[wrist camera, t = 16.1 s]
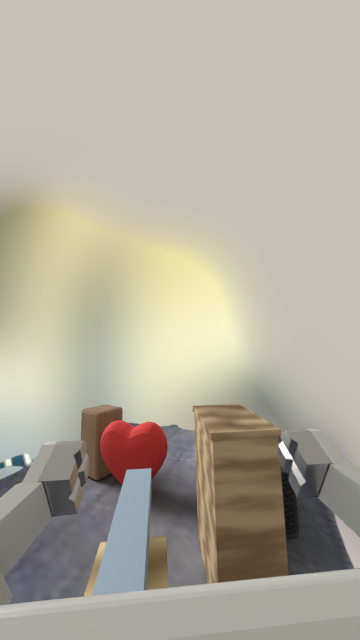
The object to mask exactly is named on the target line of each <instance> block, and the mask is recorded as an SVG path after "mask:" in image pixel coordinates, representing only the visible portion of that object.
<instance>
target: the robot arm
mask: <svg viewBox="0 0 360 640" xmlns="http://www.w3.org/2000/svg"><path fill="white" fill-rule="evenodd" d="M280 438H281V439H282V442H281V443H280V444H279V445H278V451H277V452H278V459H279V462H280V465H281V467H282V469H283V470H284V471H285V472H286V473H288V474H289V480H288V481H289V483H290V485H291V487H292V488H293V490H294V492H295V494H296V496H297V498H302V497H318V498H319V499H320V500H321V501H322V502H323V503H324V504H325V505H326V506H327V507H328V508H329V509H330V510H332V511H333V512H334V513H335V514H336V515H337V516H338V517H339V518H340V519H341V520H342V521H343V522H344V523H345V524H346V525H348V526H349V527H350V528H351V529H352V530H353V531H354V532H355V533H356V534H357V535H358V536H359V537H360V469H359V468H358V467H356V466H354V465H353V464H351V463H346V461H345V460H344V459H343V458H342V456H341V455H340V454H339V453H338V451H337V450H336V449H335V448H334V447H333V445H332V444H331V443H330V441H329V440H328V439H327V437H326V436H325V435H324V434H323V432H322V431H321V430H319V429H300V430H284V431H283V432H282V433H281V437H280ZM86 449H87V444H86V441H59V442H45V443H44V444H43V445H42V447H41V448H40V450H39V452H38V454H37V456H36V457H35V459H34V461H33V463H32V465H31V467H30V469H29V470H28V472H27V474H26V476H25V478H24V480H23V482H22V483H20V484H16V485H15V486H14V487H13V488H12V489H10V490H9V491H8V492H7V493H6V494H4V495H3V496H2V497H1V498H0V640H360V568H357V569H347V570H337V571H327V572H317V573H308V574H298V575H288V576H278V577H269V578H259V579H249V580H240V581H230V582H220V583H210V584H201V585H191V586H181V587H172V588H162V589H152V590H143V591H133V592H123V593H114V594H104V595H94V596H84V597H75V598H65V599H55V600H46V601H36V602H26V603H16V604H10V602H11V599H12V595H11V592H10V590H9V587H8V585H7V583H6V581H5V579H4V577H5V576H6V575H7V573H8V572H9V571H10V570H11V568H12V567H13V566H14V565H15V563H16V562H17V561H18V560H19V559H20V557H21V556H22V555H23V554H24V552H25V551H26V550H27V549H28V548H29V546H30V545H31V544H32V543H33V541H34V540H35V539H36V538H37V536H38V535H39V534H40V533H41V532H42V530H43V529H44V528H45V527H46V525H47V524H48V523H49V522H50V520H51V519H52V517H54V516H64V515H73V514H77V512H78V508H79V505H80V501H81V498H82V489H81V487H82V486H83V485H84V484H85V483H86V480H87V477H88V471H89V456H88V455H87V454H86Z"/></svg>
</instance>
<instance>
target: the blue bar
mask: <svg viewBox="0 0 360 640" xmlns="http://www.w3.org/2000/svg"><path fill="white" fill-rule="evenodd" d="M150 514H151V468H147V469H132V470H126V474H125V478H124V481H123V485H122V488H121V492H120V496H119V499H118V503H117V506H116V510H115V514H114V517H113V521H112V524H111V528H110V532H109V535H108V539H107V542H106V546H105V550H104V553H103V557H102V561H101V564H100V568H99V571H98V575H97V579H96V582H95V586H94V589H93V593H92V596H94V595H104V594H114V593H123V592H133V591H143V590H147V573H148V553H149V534H150Z"/></svg>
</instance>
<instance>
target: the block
mask: <svg viewBox="0 0 360 640" xmlns="http://www.w3.org/2000/svg"><path fill="white" fill-rule="evenodd" d="M118 420H122V408H121V407H115V406H110V405H101V406H97V407H92V408H87V409H84V410H82V420H81V441H86V444H87V449H86V454H87V455H88V456H89V471H88V477H90V478H92V479H94V480H100V479H102V478H104V477H106V476H108V475H110V474H112V473H111V471H110V470H109V468H108V467H107V465H106V463H105V461H104V459H103V456H102V453H101V446H100V444H101V437H102V434H103V432H104V430H105V429H106V427H107V426H108V425H109V424H110V423H112V422H114V421H118Z"/></svg>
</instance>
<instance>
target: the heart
mask: <svg viewBox="0 0 360 640" xmlns="http://www.w3.org/2000/svg"><path fill="white" fill-rule="evenodd" d="M100 446H101V453H102V456H103V459H104V461H105V463H106V465H107V467H108V468H109V470H110V471H111V473H112V474H113V475H114V477H115V478H116V479H117V480H118V481H119V483H120V484H121V485H123V481H124V478H125V474H126V470H132V469H147V468H151V479H152V478H153V477H154V476H155V475H156V473H157V472H158V471H159V469H160V468H161V466H162V464H163V462H164V460H165V458H166V454H167V439H166V436H165V434H164V432H163V430H162V429H161V428H160V427H159V426H158V425H157V424H156V423H153V422H146V423H143V424H140V425H138V426H137V427H133V426H132V425H130V424H129V423H127V422H125V421H122V420H118V421H114V422H112V423H110V424H109V425H108V426H107V427H106V429H105V430H104V432H103V434H102V437H101V444H100Z"/></svg>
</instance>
